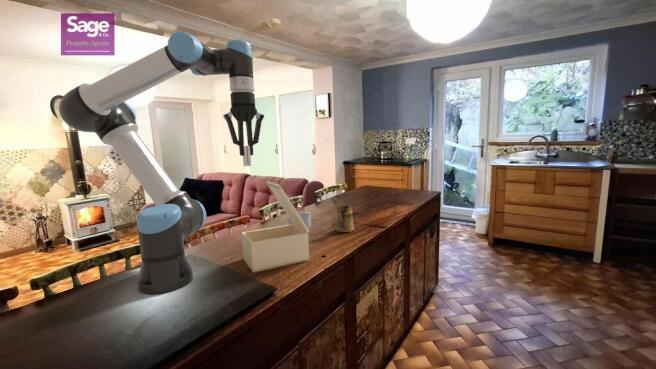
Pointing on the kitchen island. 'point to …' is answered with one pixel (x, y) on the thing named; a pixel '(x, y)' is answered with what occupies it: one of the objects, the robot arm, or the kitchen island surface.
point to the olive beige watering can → (343, 215)
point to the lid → (287, 205)
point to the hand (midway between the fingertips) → (247, 165)
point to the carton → (275, 247)
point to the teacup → (305, 217)
